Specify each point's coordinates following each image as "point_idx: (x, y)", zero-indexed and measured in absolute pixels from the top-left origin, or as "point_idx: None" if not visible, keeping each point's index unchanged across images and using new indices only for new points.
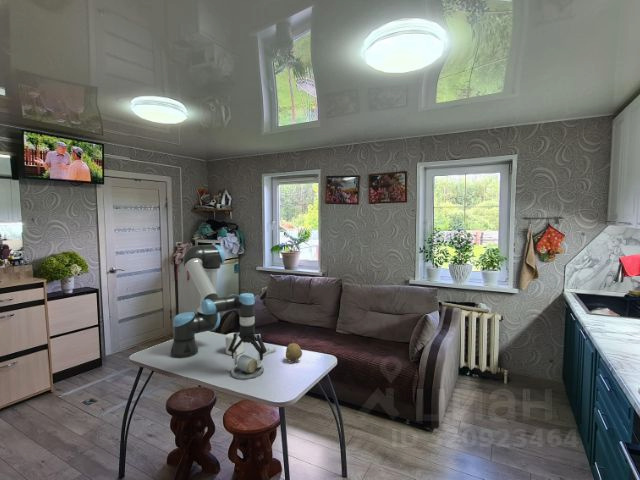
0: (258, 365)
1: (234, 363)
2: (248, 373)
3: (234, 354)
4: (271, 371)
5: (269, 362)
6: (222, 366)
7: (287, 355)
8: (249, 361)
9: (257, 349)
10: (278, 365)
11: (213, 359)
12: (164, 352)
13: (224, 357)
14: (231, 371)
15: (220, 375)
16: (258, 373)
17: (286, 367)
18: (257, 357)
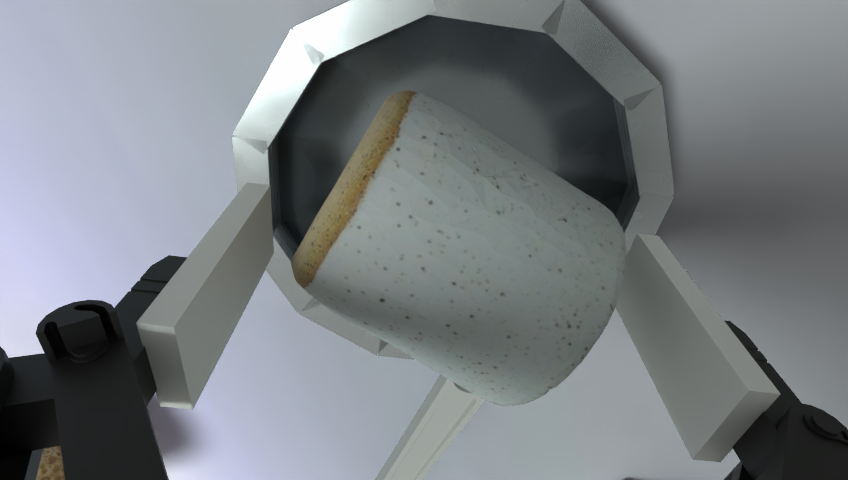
0: (252, 198)
1: (659, 254)
2: None
3: (741, 367)
4: (173, 224)
5: (288, 396)
6: (752, 325)
7: (44, 452)
8: (377, 193)
9: (115, 453)
10: None
11: None
12: None
13: (720, 467)
14: (667, 138)
15: (800, 105)
16: (255, 94)
17: None
18: (420, 459)
